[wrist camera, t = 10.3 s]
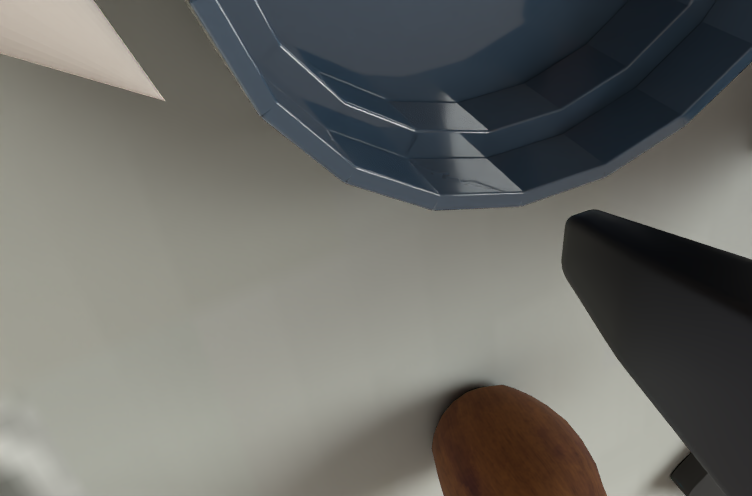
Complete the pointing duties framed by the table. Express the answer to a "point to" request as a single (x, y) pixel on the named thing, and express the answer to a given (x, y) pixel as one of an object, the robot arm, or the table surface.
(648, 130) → the bowl
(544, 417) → the wooden figurine
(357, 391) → the table surface
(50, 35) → the ice cream cone
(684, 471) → the smart home device
